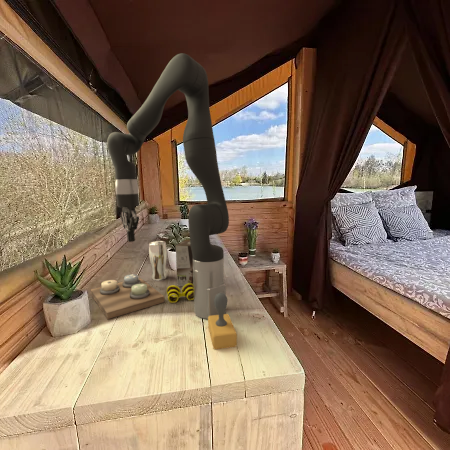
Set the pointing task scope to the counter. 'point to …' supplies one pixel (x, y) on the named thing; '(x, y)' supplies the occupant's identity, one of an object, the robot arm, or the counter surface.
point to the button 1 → (109, 285)
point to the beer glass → (158, 259)
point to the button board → (125, 299)
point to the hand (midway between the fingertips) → (131, 241)
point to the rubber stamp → (221, 325)
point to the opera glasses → (175, 290)
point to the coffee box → (184, 263)
